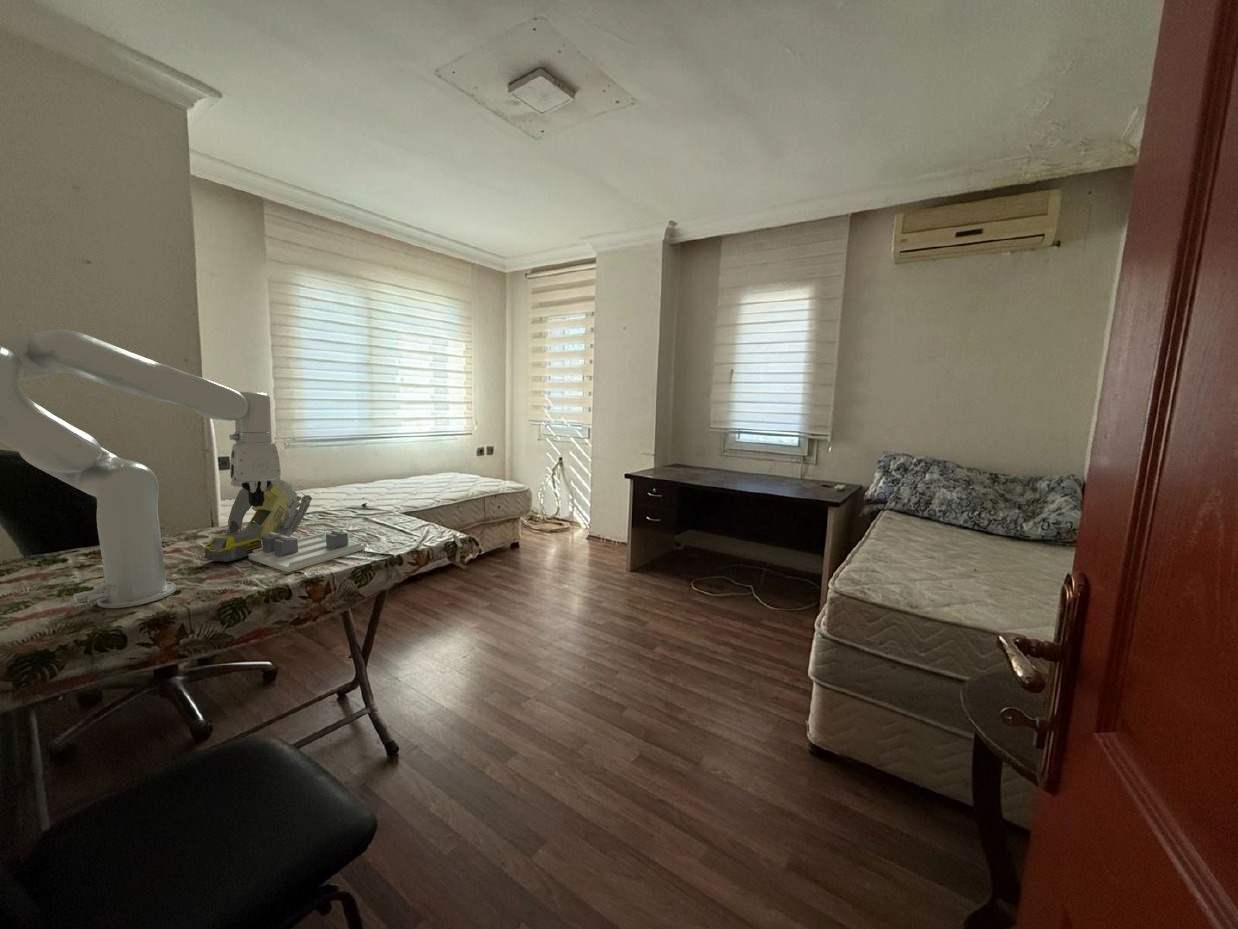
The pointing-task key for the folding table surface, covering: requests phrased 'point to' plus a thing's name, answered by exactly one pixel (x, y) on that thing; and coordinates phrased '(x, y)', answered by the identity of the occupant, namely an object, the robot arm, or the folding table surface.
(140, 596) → the robot arm
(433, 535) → the folding table surface
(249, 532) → the circular saw
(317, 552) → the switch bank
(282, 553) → the tab mid
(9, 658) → the folding table surface
